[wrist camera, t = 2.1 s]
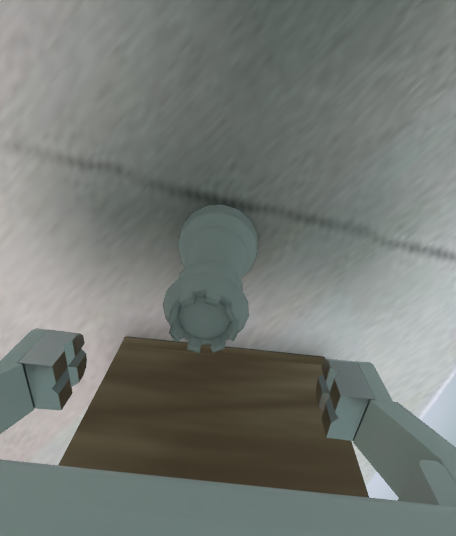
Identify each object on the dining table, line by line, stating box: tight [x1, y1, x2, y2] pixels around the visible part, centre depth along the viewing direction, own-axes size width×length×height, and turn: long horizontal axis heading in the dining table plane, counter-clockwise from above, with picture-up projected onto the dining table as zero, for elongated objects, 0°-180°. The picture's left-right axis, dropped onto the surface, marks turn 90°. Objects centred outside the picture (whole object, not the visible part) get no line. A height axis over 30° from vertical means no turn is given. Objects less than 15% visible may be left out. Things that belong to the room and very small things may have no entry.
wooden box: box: [58, 337, 369, 498], centre depth 20 cm, size 12×14×10 cm
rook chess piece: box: [163, 205, 258, 353], centre depth 14 cm, size 4×4×8 cm
